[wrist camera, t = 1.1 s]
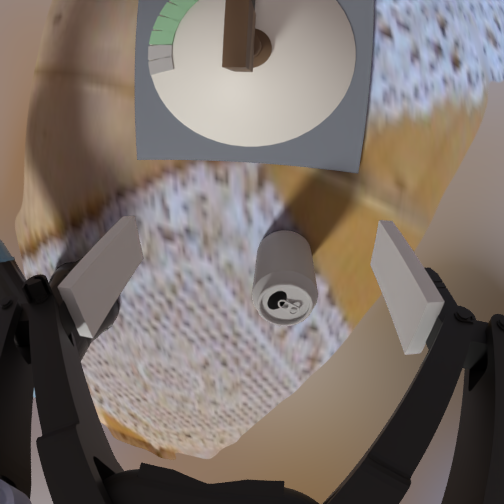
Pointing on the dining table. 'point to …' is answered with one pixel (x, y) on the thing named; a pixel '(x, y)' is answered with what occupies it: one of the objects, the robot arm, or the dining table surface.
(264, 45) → the dial pointer knob
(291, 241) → the can
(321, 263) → the dining table surface
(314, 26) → the dial board
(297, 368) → the dining table surface
